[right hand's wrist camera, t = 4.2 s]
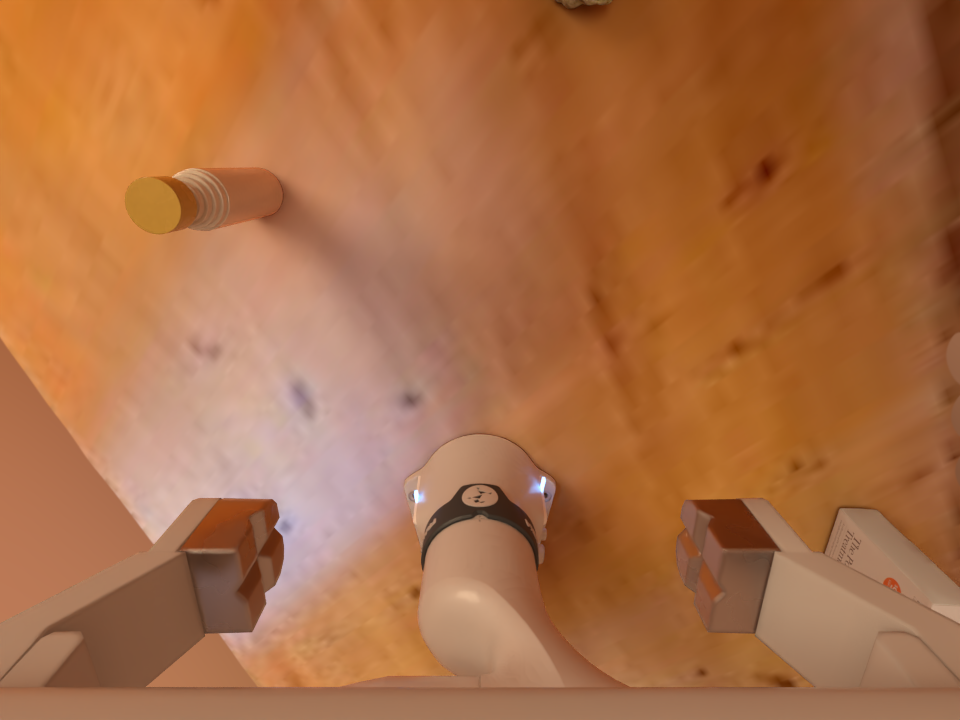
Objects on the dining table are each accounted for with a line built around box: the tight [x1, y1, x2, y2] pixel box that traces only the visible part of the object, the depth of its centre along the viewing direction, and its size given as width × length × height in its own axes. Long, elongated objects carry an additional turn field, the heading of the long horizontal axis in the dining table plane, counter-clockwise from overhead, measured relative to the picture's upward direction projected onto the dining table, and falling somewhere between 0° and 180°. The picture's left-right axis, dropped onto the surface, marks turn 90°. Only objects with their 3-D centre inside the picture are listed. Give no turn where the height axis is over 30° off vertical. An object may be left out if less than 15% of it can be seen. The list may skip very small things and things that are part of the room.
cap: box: [125, 176, 197, 234], centre depth 38 cm, size 4×4×2 cm
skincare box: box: [825, 508, 960, 623], centre depth 63 cm, size 21×6×16 cm, turn 178°
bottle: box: [173, 167, 283, 231], centre depth 46 cm, size 5×5×18 cm
